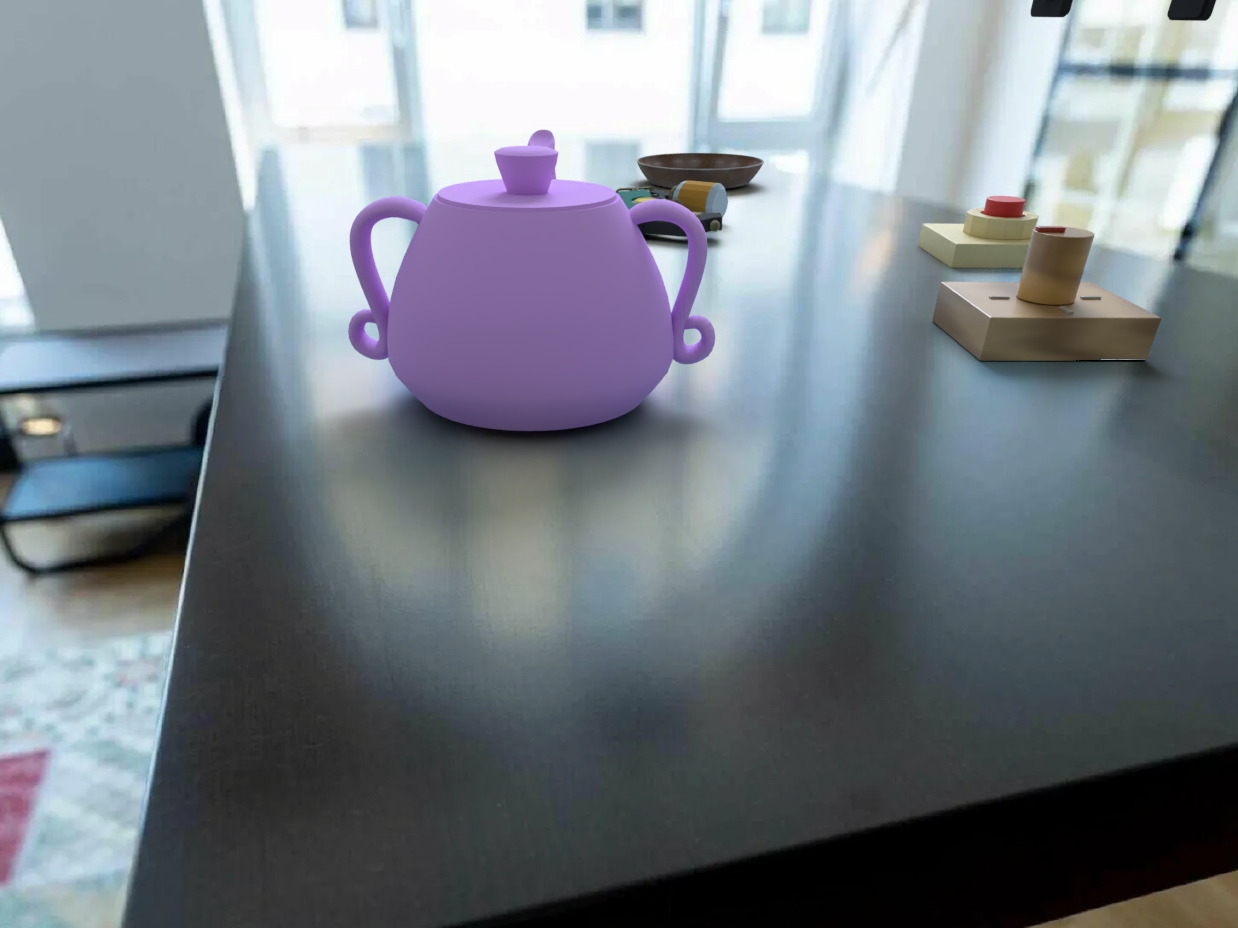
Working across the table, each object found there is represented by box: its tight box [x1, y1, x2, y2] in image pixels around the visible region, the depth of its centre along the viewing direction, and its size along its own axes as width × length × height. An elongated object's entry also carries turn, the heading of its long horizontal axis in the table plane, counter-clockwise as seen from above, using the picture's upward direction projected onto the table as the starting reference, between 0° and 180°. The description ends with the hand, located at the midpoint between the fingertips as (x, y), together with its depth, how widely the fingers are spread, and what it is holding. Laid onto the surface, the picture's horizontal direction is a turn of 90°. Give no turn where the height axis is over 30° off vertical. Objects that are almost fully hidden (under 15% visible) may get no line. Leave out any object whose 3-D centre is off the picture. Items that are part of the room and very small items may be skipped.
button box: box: [917, 207, 1040, 269], centre depth 90 cm, size 12×10×4 cm
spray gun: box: [615, 181, 729, 238], centre depth 100 cm, size 4×17×15 cm
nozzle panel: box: [931, 281, 1162, 362], centre depth 67 cm, size 12×10×3 cm
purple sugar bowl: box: [347, 129, 716, 432], centre depth 54 cm, size 22×22×14 cm
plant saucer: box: [636, 152, 765, 190], centre depth 127 cm, size 18×18×3 cm
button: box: [983, 195, 1027, 218], centre depth 88 cm, size 4×4×2 cm
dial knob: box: [1016, 225, 1096, 305], centre depth 65 cm, size 4×4×5 cm
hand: (1118, 18), depth 56 cm, fingers open, 9 cm apart
